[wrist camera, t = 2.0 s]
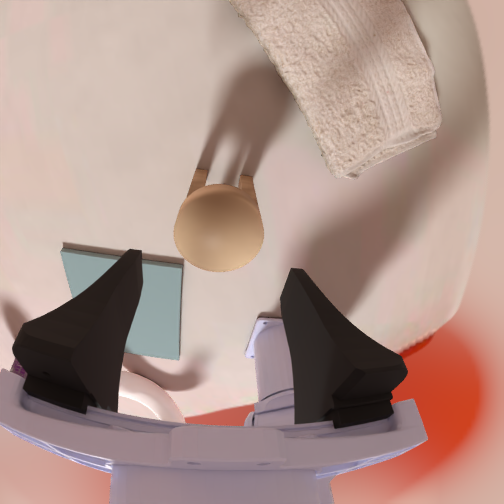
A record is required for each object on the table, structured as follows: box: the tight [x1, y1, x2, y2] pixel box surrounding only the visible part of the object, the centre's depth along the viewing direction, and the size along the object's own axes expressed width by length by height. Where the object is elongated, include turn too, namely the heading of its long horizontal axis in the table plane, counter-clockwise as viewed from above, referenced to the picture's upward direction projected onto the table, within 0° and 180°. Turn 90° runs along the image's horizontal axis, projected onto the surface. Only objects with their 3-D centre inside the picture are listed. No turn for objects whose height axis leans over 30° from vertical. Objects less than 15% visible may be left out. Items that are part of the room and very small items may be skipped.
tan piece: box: [174, 169, 264, 272], centre depth 19 cm, size 5×5×7 cm
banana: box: [119, 371, 185, 423], centre depth 33 cm, size 5×19×15 cm, turn 31°
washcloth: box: [229, 0, 442, 179], centre depth 15 cm, size 12×18×3 cm, turn 31°
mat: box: [60, 248, 183, 360], centre depth 29 cm, size 13×16×1 cm
